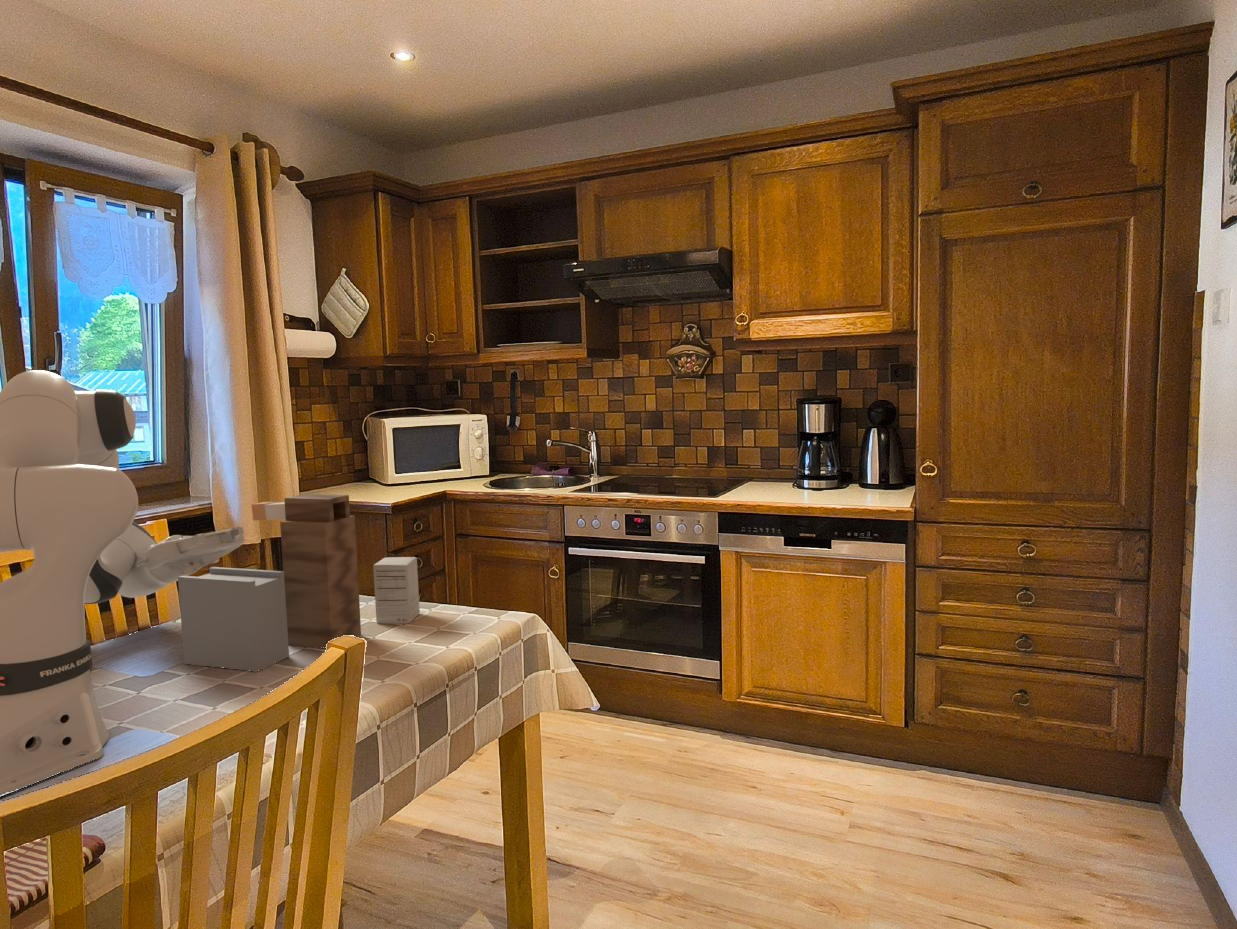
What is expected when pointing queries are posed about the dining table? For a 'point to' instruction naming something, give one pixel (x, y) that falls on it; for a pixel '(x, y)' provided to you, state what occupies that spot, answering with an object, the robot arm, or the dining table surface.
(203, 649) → the block
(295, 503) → the holster tower
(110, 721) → the dining table surface
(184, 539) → the robot arm
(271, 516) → the beige rectangular bar
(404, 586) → the supplement box
